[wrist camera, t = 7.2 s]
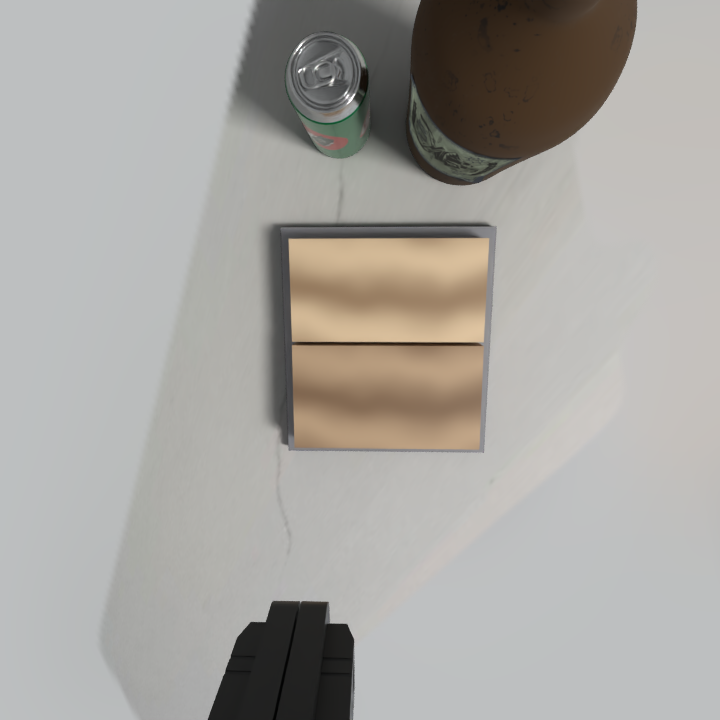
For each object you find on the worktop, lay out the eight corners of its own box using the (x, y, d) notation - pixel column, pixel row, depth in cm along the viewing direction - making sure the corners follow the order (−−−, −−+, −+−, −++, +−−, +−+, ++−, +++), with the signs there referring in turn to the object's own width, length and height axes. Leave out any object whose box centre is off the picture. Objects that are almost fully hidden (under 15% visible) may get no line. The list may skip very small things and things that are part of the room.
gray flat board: (282, 228, 41) (280, 227, 40) (493, 227, 41) (496, 226, 40) (290, 446, 45) (288, 450, 45) (481, 448, 45) (483, 452, 44)
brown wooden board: (295, 342, 42) (291, 345, 40) (478, 342, 42) (483, 346, 40) (298, 440, 44) (294, 447, 42) (474, 441, 43) (479, 449, 41)
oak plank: (292, 239, 40) (288, 238, 39) (483, 239, 40) (489, 237, 38) (295, 337, 42) (292, 341, 40) (478, 338, 42) (483, 342, 40)
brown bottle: (452, 23, 38) (593, -409, 13) (556, 108, 39) (866, -146, 14) (372, 142, 40) (366, -42, 15) (473, 219, 41) (620, 164, 16)
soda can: (377, 150, 40) (378, 105, 28) (318, 167, 40) (295, 130, 28) (361, 85, 39) (355, 11, 27) (301, 103, 39) (270, 39, 27)
